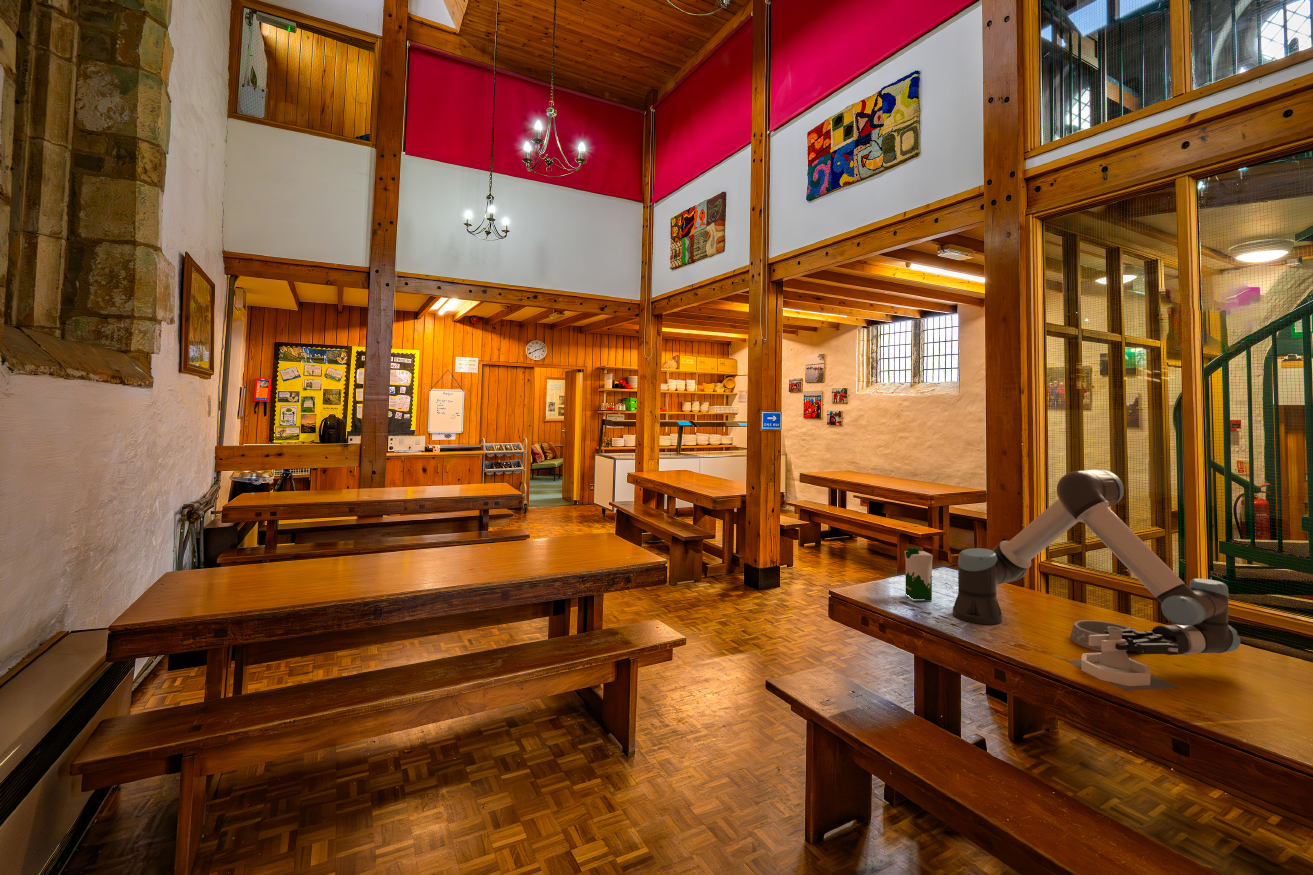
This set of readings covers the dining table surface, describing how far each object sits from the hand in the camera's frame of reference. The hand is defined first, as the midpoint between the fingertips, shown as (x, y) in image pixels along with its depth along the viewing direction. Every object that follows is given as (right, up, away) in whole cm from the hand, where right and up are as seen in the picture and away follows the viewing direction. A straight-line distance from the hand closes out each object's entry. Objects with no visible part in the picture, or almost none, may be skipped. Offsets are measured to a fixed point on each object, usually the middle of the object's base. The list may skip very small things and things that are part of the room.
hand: (1096, 643), depth 148 cm
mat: (+7, -9, +1) cm, 11 cm away
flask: (+5, -6, +1) cm, 8 cm away
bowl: (+5, -8, +1) cm, 10 cm away
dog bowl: (+20, -9, +22) cm, 31 cm away
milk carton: (-15, -8, +69) cm, 71 cm away
